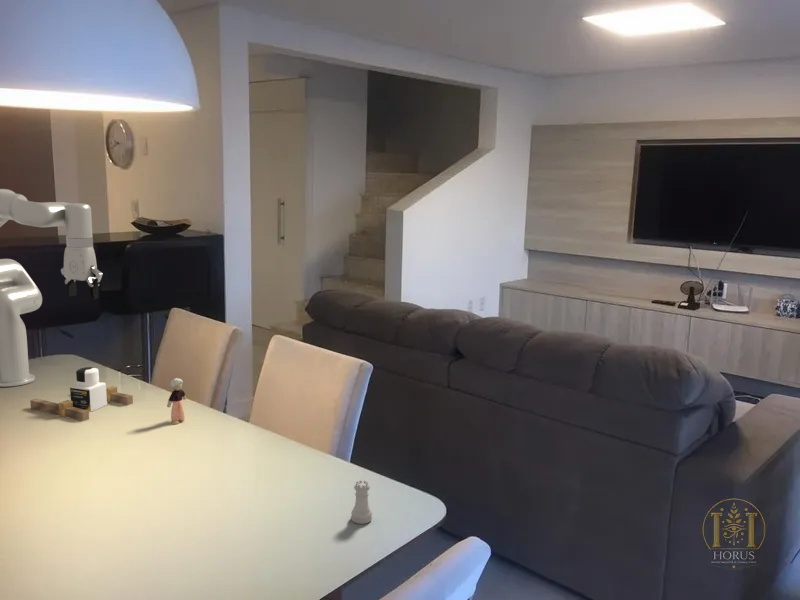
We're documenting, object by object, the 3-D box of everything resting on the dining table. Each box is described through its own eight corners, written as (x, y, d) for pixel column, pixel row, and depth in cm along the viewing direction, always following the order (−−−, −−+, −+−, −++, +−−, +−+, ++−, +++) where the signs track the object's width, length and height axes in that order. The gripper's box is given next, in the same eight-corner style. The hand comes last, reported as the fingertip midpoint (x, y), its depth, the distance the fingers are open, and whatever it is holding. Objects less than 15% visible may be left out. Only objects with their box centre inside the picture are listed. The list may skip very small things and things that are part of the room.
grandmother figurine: (178, 426, 192) (176, 382, 190) (165, 425, 193) (163, 381, 191) (190, 417, 200) (189, 374, 198) (178, 416, 201) (177, 374, 198)
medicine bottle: (70, 409, 204) (68, 370, 202) (88, 402, 211) (86, 364, 209) (90, 412, 202) (88, 373, 200) (107, 405, 209) (105, 366, 207)
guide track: (29, 408, 204) (28, 395, 203) (83, 392, 221) (82, 380, 220) (81, 421, 194) (80, 407, 194) (134, 403, 211) (133, 390, 211)
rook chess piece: (360, 512, 145) (361, 476, 144) (376, 519, 142) (377, 482, 141) (346, 519, 142) (346, 483, 140) (362, 527, 139) (362, 489, 137)
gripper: (50, 242, 216) (53, 296, 218) (89, 246, 208) (92, 301, 211) (70, 241, 222) (73, 293, 225) (109, 244, 215) (112, 298, 218)
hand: (82, 297), depth 218 cm, fingers open, 9 cm apart
